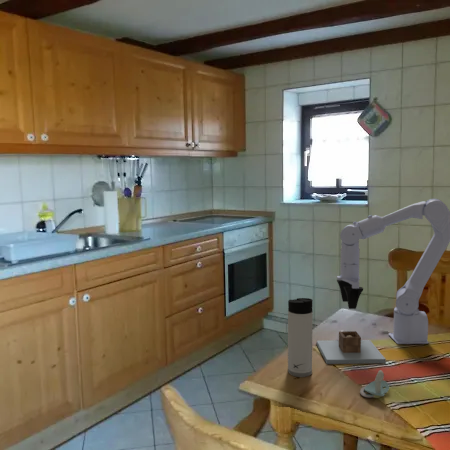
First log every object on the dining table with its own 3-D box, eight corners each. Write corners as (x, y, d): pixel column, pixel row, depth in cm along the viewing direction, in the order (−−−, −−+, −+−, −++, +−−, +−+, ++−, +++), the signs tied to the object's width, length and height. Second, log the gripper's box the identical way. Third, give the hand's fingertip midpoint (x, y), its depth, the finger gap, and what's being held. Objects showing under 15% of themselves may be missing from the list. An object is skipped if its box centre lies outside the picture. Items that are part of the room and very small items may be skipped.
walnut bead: (355, 345, 135) (356, 331, 135) (360, 352, 130) (360, 337, 130) (338, 345, 135) (338, 331, 135) (342, 352, 130) (343, 337, 130)
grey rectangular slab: (369, 343, 140) (370, 326, 139) (385, 363, 126) (386, 344, 125) (316, 344, 140) (316, 327, 139) (326, 363, 126) (326, 345, 125)
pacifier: (355, 397, 108) (381, 404, 105) (355, 371, 108) (381, 377, 104) (366, 385, 114) (391, 391, 111) (366, 361, 114) (391, 366, 110)
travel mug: (298, 380, 117) (298, 303, 114) (283, 370, 123) (283, 296, 120) (317, 374, 120) (318, 299, 117) (302, 365, 126) (302, 293, 123)
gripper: (332, 258, 153) (331, 298, 155) (343, 268, 139) (342, 312, 141) (353, 258, 153) (352, 298, 155) (366, 267, 139) (365, 311, 141)
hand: (349, 304), depth 148 cm, fingers open, 7 cm apart
